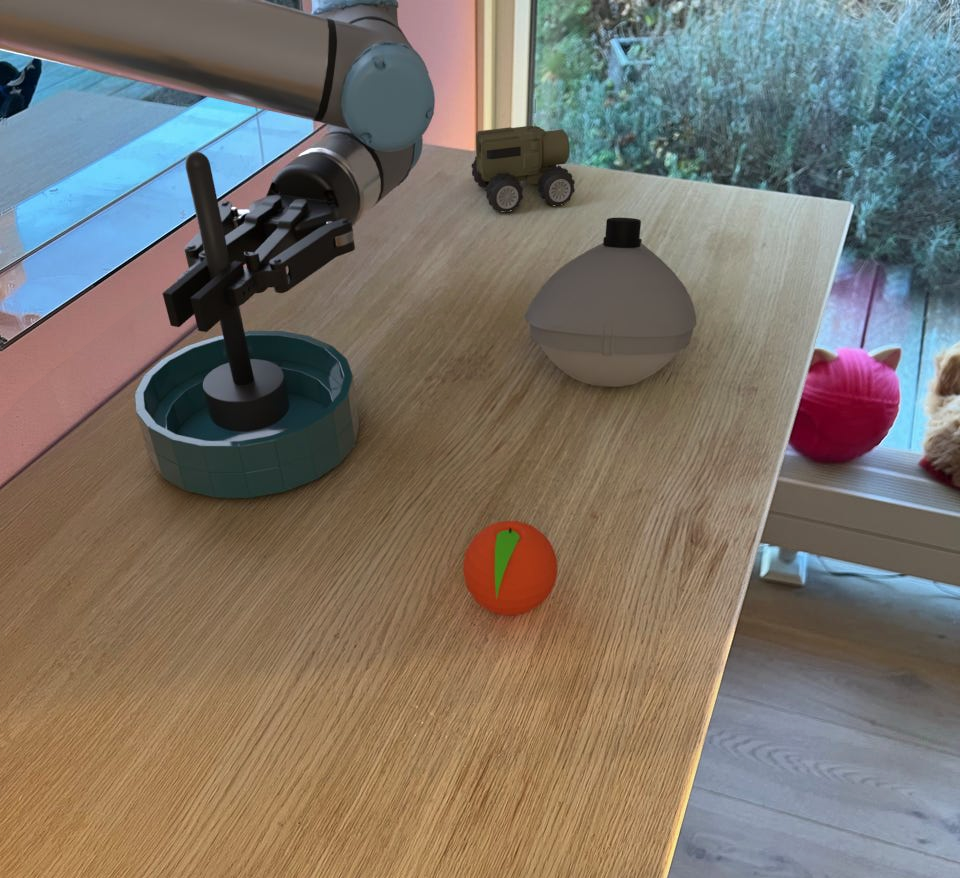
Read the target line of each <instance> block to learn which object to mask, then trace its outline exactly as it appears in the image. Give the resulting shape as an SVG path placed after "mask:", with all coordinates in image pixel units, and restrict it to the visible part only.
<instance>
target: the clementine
mask: <svg viewBox="0 0 960 878" xmlns="http://www.w3.org/2000/svg"><path fill="white" fill-rule="evenodd" d="M462 573H463V578H464V581H465V586H466V588H467V590H468V591H469V593H470V594H471V596H472V597H473V599H474V600H475V602H476V603H478V604H479V605H480V606H481V607H483V608H484V609H486V610H488V611H489V612H492V613H494V614H497V615H502V616H512V617H513V616H518V615H523V614H526V613H528V612H531V611H532V610H534V609H536V608H537V607H539V606H540V605H542V604H543V603H544V602H545V601H546V600H547V598H548V597H549V595H550V594H551V592H552V590H553V589H554V586H555V584H556V580H557V577H558V560H557V555H556V552H555V549H554V547H553V545H552V544H551V541H550V540H549V538H547V536H546V535H545V534H544V533H542V532H541V531H540V530H539V529H537V528H536V527H535V526H533V525H532V524H528V523H526V522H522V521H518V520H504V521H498V522H494V523H492V524H489V525H487V526H486V527H484V528H483V529H482V530H480V532H478V533H477V534H476V535H475V536H474V537H473V538H472V539H471V541H470V543H469V545H468V546H467V549H466V551H465V553H464V557H463V566H462Z"/></svg>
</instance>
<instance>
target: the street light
mask: <svg viewBox="0 0 960 878" xmlns="http://www.w3.org/2000/svg"><path fill="white" fill-rule="evenodd" d="M605 224H606V225H605V236H603V240H602V243H600V244H598V245H596V246H594V247H592V248H590V249H588V250H586V251H585V252H583V253H581V254H580V255H578V256H576V257H574V258H573V259H571V260H570V261H569V262H567V263H565V264H564V265H562V266H561V267H560V268H559V269H558V270H556V271H555V272H554V273H553V274H552V275H551V277H549V278H548V279H547V281H546V282H545V283H543V285H542V286H541V288H540V289H539V290H538V291H537V293H536V295H535V296H534V297H533V299H532V300H531V303H530V304H529V306H528V309H527V311H525V312H526V313H525V316H524V319H525V321H526V322H527V324H528V327H529V335H530V338H531V339H532V340H533V341H534V342H535V343H537V344H538V345H539V347H540V348H541V350H542V351H543V353H544V354H545V355H546V357H547V358H548V359H549V360H550V361H551V363H553V365H554V366H556V367H557V368H558V369H559V370H561V371H562V372H563V373H564V374H565V375H567V376H568V377H570V378H571V379H574V380H575V381H578V382H581V383H583V384H586V385H591V386H596V387H608V388H609V387H612V388H613V387H614V388H617V387H618V388H619V387H620V388H621V387H626V386H632V385H635V384H637V383H639V382H642V381H644V380H645V379H648V378H650V377H651V376H653V375H654V374H656V373H657V372H658V371H660V370H661V369H663V368H664V367H665V366H666V365H668V364H669V363H670V362H671V361H672V360H673V359H674V358H675V357H676V355H677V354H679V352H680V351H683V350H684V349H686V348H687V347H688V346H689V345H690V342H691V340H692V336H693V332H694V329H695V328H696V326H697V324H698V323H697V315H696V310H695V306H694V303H693V300H692V298H691V295H690V293H689V291H688V290H687V288H686V286H685V285H684V283H683V282H682V281H681V280H680V278H679V277H678V275H677V274H676V273H675V272H674V271H673V270H672V268H670V266H668V265H667V264H666V263H665V262H664V260H662V259H661V258H660V257H659V256H657V255H656V254H655V253H654V252H653V251H652V250H650V249H649V248H648V247H647V246H646V245H645V244H643V243H642V242H643V239H642V238H640V237H641V226H642V225H641V224H642V221H641V219H639V218H635V217H634V218H633V217H632V218H631V217H609V218H607V219H606V221H605Z"/></svg>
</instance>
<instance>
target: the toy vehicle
mask: <svg viewBox="0 0 960 878" xmlns="http://www.w3.org/2000/svg"><path fill="white" fill-rule="evenodd" d="M536 105H537V104H536V98H535V99H534V112H536V111H537V110H536ZM570 148H571V145H570V140H569V136H568V133H566V131H565V130H564V129H555V130H545V129H543V128H541V127H540V126H537V125H526V126H525V125H524V126H515V127H511V126H509V127H501V128H500V127H499V128H493V129H485V130H477V131H476V133H475V149H476V150H475V153H476V154H475V155H476V156H475V157H474V160H473V162H472V163H471V169H472V170H471V177H473V180H474V182H475V183H477V186H479V187H480V188H484V189H485V188H486V189H485V191H486V195H485V197H486V200H488V204H489V206H491V207H492V209H493V210H494V211H497V210H498V212H500V211H510V210H512V211H513V209H514V210H515V209H516V208H519V207H520V203H521V201H522V200H523V198H524V196H523V191H524V188H523V186H521V182H527V184H529V185H538V188H537V190H538V193H539V194H540V198H541V200H544V203H545V204H548V203H549V204H548V205H551V206H552V205H557V206H560V205H561V204H563V205H564V204H566V203H567V202H569V201H570V200H571V199H572V196H573V194H574V193H575V191H576V190H575V184H576V181H575V179H573V175H572V173H571V172H569V170H568V169H567V168H563V167H562V166H561V165H566V164H567V162H568V160H569V158H570V154H571V153H570V152H571V150H570ZM481 186H482V187H481Z"/></svg>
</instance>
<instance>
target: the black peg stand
mask: <svg viewBox="0 0 960 878" xmlns="http://www.w3.org/2000/svg"><path fill="white" fill-rule="evenodd" d="M184 167H185V172H186V176H187V180H188V181H187V182H188V184H189V189H190V194H191V198H192V199H191V200H192V203H193V207H194V212H195V216H196V221H197V225H198V229H199V231H200V235H201V239H202V244H203V248H204V253H205V257H206V262H207V266H208V271H209V275H210V280H212V279H214V278H215V277H216V276H217V275H218V274H220V273H221V272H222V271H223V270H224V269H225V268H227V267H228V266H229V265H230V259H229V254H228V249H227V244H226V240H225V235H224V230H223V225H222V220H221V215H220V210H219V206H218V204H219V200H218V196H217V191H216V187H215V181H214V177H213V172H212V167H211V163H210V160H209V158H208V157H207V156H206V154H204V153H203V152H200V151H192V152H191V153H189V154H188V155H187V156H186V158H185V161H184ZM219 324H220V329H221V333H222V334H221V335H223V338H224V343H225V347H226V352H227V356H228V361H229V363H226V364H223V365H221V366H219V367H217V368H215V369H214V370H212V371H211V372H210V373H209V374H208V375H207V376H206V377H205V379H204V381H203V390H204V394H205V398H206V402H207V406H208V410H209V414H210V418H211V420H212V421H213V422H214V423H215V424H216V425H217V426H219V427H221V428H223V429H226V430H230V431H239V432H245V431H254V430H259V429H263V428H266V427H269V426H271V425H273V424H275V423H277V422H278V421H280V420H281V419H282V418H283V417H284V416H285V415H286V414H287V412H288V410H289V399H288V394H287V388H286V383H285V377H284V373H283V371H282V369H281V368H280V367H279V366H277V365H276V364H274V363H272V362H269V361H265V360H259V359H250V356H249V352H248V347H247V342H246V337H245V332H246V331H245V328H244V323H243V318H242V313H241V308H240V306H235V307H234V308H233V309H232V310H231V311H230V312H229V313H227V314H226V315H225V316H224V317H223V318H222V319H221V320H220V321H219Z"/></svg>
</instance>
